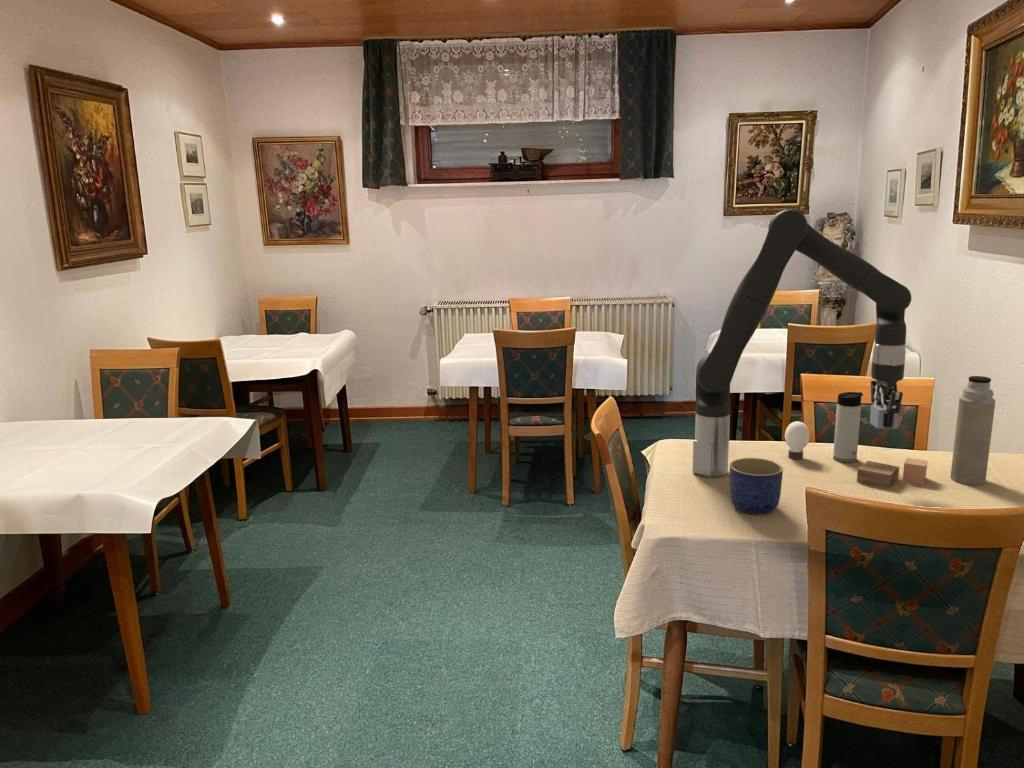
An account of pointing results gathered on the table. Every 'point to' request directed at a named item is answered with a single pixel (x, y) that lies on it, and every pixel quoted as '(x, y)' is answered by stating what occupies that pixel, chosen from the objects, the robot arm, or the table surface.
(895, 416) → the blue cube
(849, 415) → the travel mug
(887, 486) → the walnut block
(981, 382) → the thermos bottle
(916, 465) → the terracotta cube
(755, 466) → the planter
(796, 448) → the light bulb
